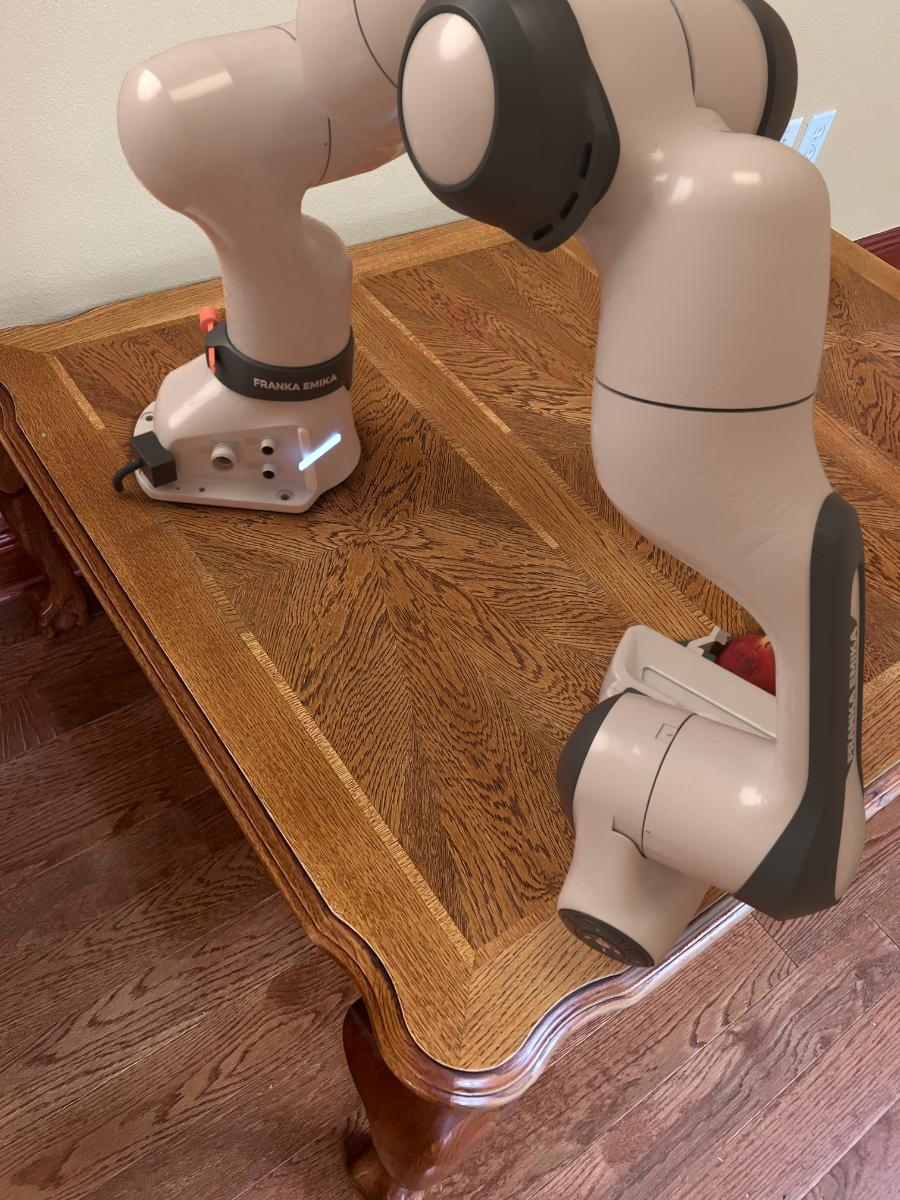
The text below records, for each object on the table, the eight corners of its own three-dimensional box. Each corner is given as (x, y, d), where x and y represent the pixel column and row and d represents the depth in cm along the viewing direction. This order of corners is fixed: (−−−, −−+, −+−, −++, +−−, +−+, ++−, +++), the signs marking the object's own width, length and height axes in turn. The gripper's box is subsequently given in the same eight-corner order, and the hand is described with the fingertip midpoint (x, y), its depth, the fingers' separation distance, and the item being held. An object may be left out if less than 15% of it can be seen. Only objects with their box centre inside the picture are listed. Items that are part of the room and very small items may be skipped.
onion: (735, 733, 80) (772, 679, 74) (687, 685, 82) (718, 629, 76) (779, 702, 82) (817, 648, 76) (731, 657, 85) (765, 601, 79)
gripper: (843, 828, 66) (895, 696, 74) (588, 680, 71) (662, 572, 79) (806, 865, 71) (858, 737, 79) (570, 724, 76) (641, 618, 84)
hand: (758, 653), depth 79 cm, fingers closed on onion, 5 cm apart
